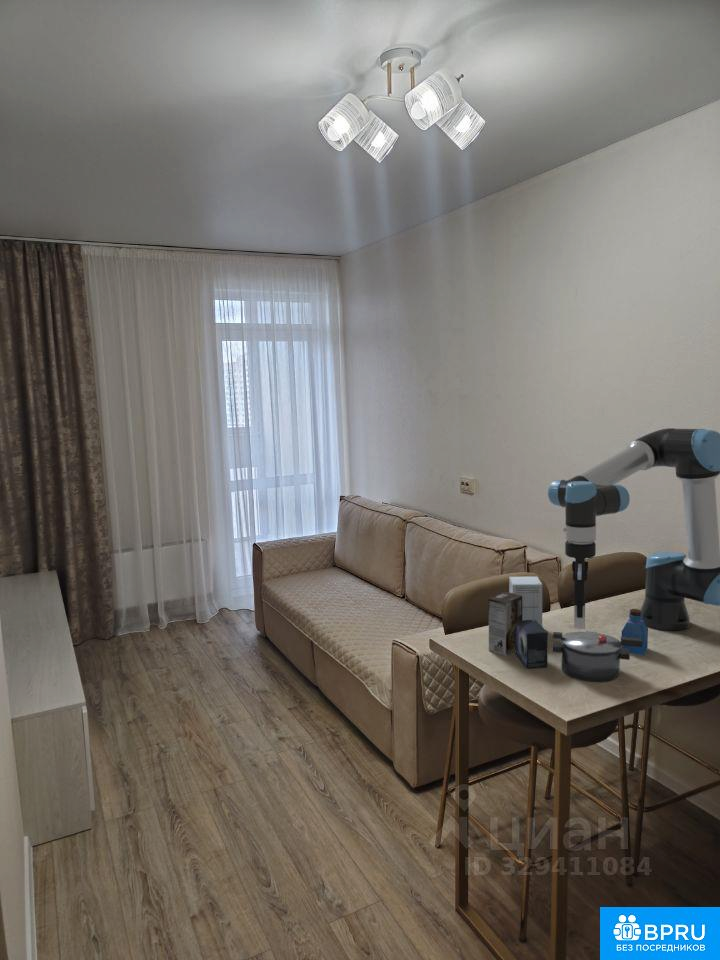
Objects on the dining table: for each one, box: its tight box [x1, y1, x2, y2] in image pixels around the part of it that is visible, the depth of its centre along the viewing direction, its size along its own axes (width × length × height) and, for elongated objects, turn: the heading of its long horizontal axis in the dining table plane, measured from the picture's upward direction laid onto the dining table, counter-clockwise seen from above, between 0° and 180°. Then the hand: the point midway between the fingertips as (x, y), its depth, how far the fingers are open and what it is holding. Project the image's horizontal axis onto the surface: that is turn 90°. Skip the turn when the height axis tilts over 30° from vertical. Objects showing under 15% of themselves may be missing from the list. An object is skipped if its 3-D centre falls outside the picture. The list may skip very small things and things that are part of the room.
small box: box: [514, 620, 549, 670], centre depth 186 cm, size 11×6×10 cm, turn 5°
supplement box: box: [508, 576, 543, 627], centre depth 210 cm, size 10×9×17 cm
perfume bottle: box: [621, 608, 649, 657], centre depth 192 cm, size 6×6×12 cm
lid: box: [552, 630, 642, 654], centre depth 178 cm, size 23×16×2 cm
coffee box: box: [488, 591, 522, 657], centre depth 195 cm, size 9×6×16 cm
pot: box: [551, 640, 631, 683], centre depth 180 cm, size 20×16×7 cm
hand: (579, 627), depth 174 cm, fingers closed
